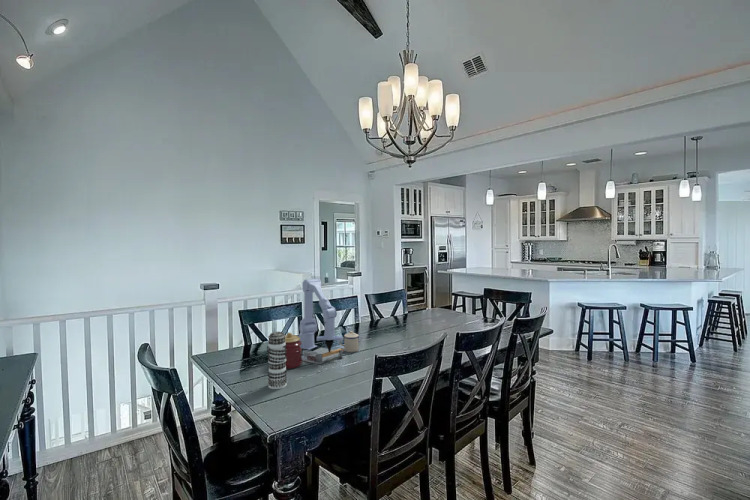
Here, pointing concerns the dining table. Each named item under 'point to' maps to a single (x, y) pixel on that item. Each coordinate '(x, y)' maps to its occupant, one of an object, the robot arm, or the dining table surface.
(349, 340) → the teacup with lid
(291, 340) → the canister
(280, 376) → the decorative candle
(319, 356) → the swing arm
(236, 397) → the dining table surface
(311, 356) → the base plate
